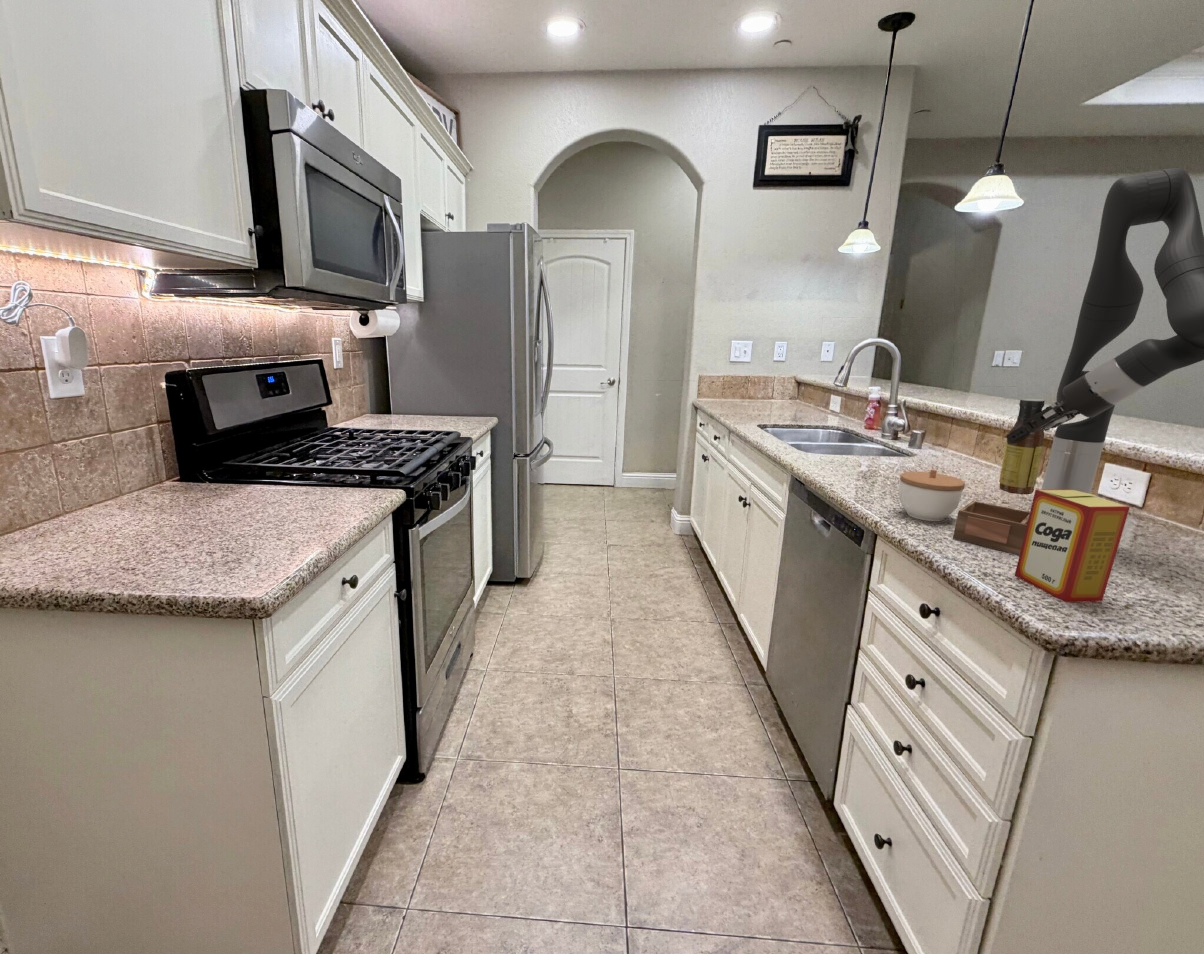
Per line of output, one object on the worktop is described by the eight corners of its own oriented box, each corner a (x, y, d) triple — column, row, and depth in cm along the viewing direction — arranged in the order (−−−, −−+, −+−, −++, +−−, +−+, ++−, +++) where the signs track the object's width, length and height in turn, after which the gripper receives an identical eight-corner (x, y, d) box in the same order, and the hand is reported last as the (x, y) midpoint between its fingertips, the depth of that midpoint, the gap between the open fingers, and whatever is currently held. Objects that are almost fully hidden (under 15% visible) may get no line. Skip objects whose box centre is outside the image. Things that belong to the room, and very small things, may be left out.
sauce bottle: (1021, 488, 119) (1041, 398, 114) (1040, 496, 113) (1062, 401, 108) (989, 486, 120) (1008, 397, 115) (1007, 495, 114) (1028, 400, 109)
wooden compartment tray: (967, 526, 118) (972, 500, 117) (1092, 556, 104) (1101, 526, 102) (952, 538, 111) (958, 510, 109) (1085, 572, 96) (1093, 540, 95)
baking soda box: (1102, 601, 86) (1130, 504, 81) (1065, 602, 85) (1091, 504, 81) (1048, 575, 95) (1071, 487, 91) (1014, 575, 94) (1036, 487, 90)
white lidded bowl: (938, 529, 116) (948, 479, 113) (883, 512, 127) (890, 466, 124) (968, 520, 123) (978, 473, 120) (912, 505, 133) (920, 461, 130)
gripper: (1101, 371, 108) (1018, 421, 120) (1074, 373, 100) (989, 427, 113) (1129, 401, 105) (1041, 449, 118) (1104, 406, 97) (1013, 457, 110)
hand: (1016, 438), depth 115 cm, fingers closed on sauce bottle, 6 cm apart
